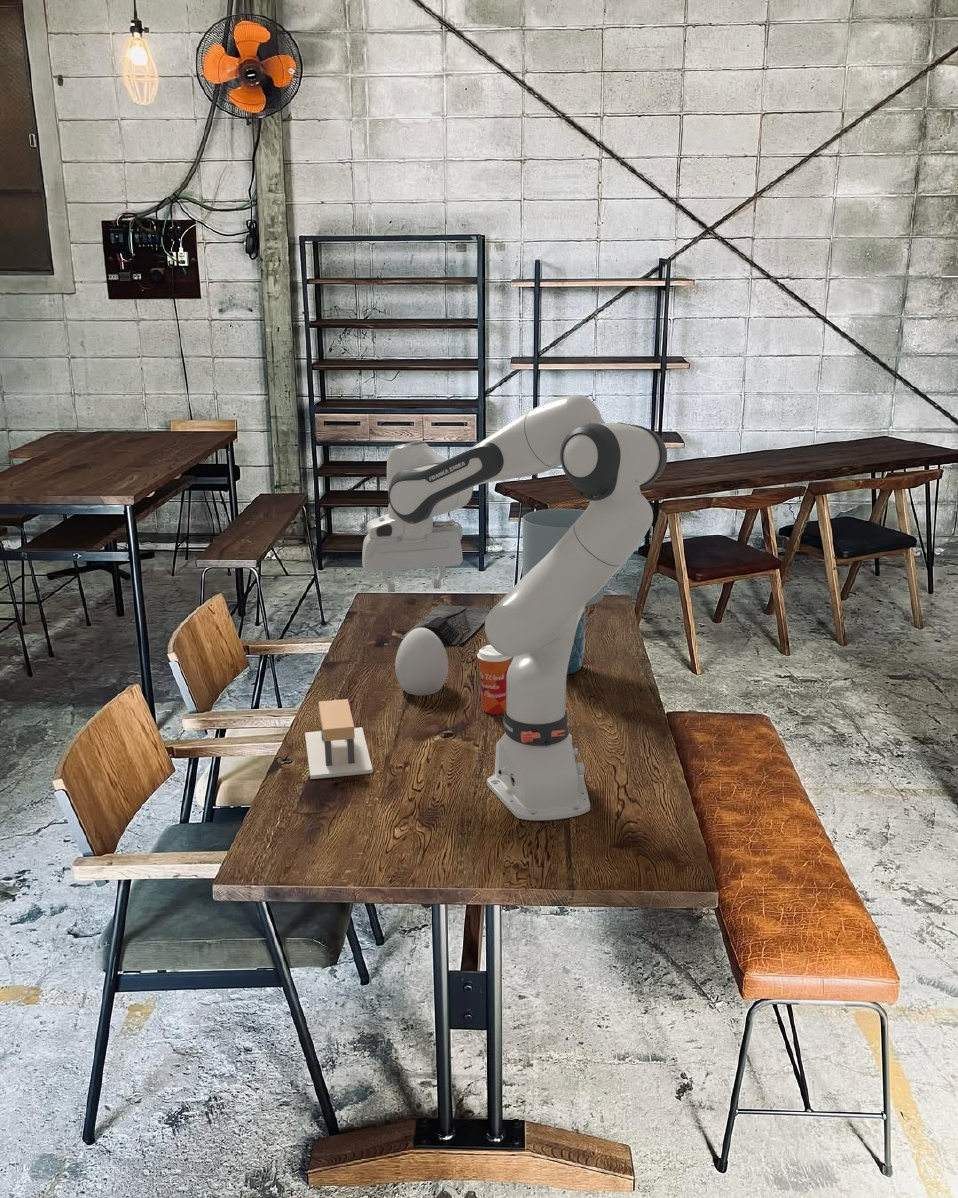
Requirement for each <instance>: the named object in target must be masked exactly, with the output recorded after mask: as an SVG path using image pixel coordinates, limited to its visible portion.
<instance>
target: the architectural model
mask: <svg viewBox="0 0 958 1198" xmlns="http://www.w3.org/2000/svg"><path fill="white" fill-rule="evenodd" d="M492 609H493V608H491V609H490V608H483V607H482V608H481V607H472V606H471V607H470V606H459V605H445V604H438V605H437V606H436V607H435V608H434V609H433V610H432V611H431V612H430V613H428V614H427V615H425V617H423V618H422V620H420V621H419V622H418V623H416V624H415V625H414V626H413V627H411V629H409V630H408V631H407V632H406V633H404V634H403V635H402V636H401V638H400V640H401V639H404V638H405V637H406V635H407V634H408V633H409V632H411V631H412V630H414V629H416V628H426V629H429V630H431V631H432V632H433V633H434V634H436V636H437V637H438V638H439V639H440V640H441V642H442V644H443V646H454V647H463V643H464V642H466V641H467V639H469V638H470V637H471V636H472V635H473V634H474V633H475V632H476V631H477V630H478V629H479V628H480V627H481V626H483V624H485V621H486V618H487V615H488V614H489V612H490V611H491V610H492ZM458 629H464V630H465V629H467V631H466V635H464V632H463V631H461V630H458ZM462 638H463V639H462Z"/></svg>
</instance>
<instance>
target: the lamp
mask: <svg viewBox="0 0 958 1198" xmlns="http://www.w3.org/2000/svg"><path fill="white" fill-rule="evenodd" d="M585 510H586V509H576V508H549V509H540V510H535V511H530V512H527V513H526V514H524V515H523V516H522V571H521V572H522V574H521V575H522V577H521V579H522V578H523V577H524V576H525V575H526V574H527V573H528V572H529V571H530V570H531V569H532V568H533V567H534V566H536V565H537V564H538V563H539V562H540V561H541V560H542V559H543V558H544V557H545V556H546V555H547V554H548V553H549V552H550V551H551V550H552V549H553V548H554V546H555V545H556V544H557V543H558V542H559V541H560V539H561V538H562V537H563V536H564V535H565V533H566V532H567V531H568V530H569V529H570V528H571V526H572V525H573V524H574V523H575V522H576V520H577V519H578V518H579V517H580V516H581V515H582V514H583V512H584V511H585ZM604 586H605V585H604ZM604 586H603V587H602V588H601V590H600V591H599V592H598V593H597V594H596V595H595V596H594V597H592V598H591V599H590V600H589V601H588V602H587V603H586V604H585V607H587V606H592V605H595V604H597V603H599V602H601V601H602V600H603V599H604V588H605V587H604ZM585 644H586V610H585V609H584V612H583V614H582V616H581V618H580V620H579V623H578V626H577V629H576V633H575V637H574V642H573V646H572V651H571V655H570V659H569V664H568V669H567V675H572V674H575V673H577V672H579V670H580V669H581V668H582V666H583V662H584V654H585Z"/></svg>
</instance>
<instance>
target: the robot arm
mask: <svg viewBox="0 0 958 1198" xmlns="http://www.w3.org/2000/svg"><path fill="white" fill-rule="evenodd" d="M667 451H668V450H667V447H666V444H665V442H664V440H663V438H661V436H659V435H658V434H657V433H656V432H655V431H653V430H652V429H649V428H647V427H644V426H643V425H638V424H631V423H624V422H606V421H604V419H603V417H602V415H601V412H600V410H599V408H598V406H597V405H596V404H595V403H594V402H593V401H592V400H591V399H589V397H587V396H585V395H582V394H571V395H567V396H564V397H560V398H559V397H558V398H556V399H553V400H551V401H547V402H545V403H543V404H541V405H539V406H536V407H534V408H532V409H531V410H528V411H526V412H524V413H522V414H521V415H520V416H518V417H516V418H515V419H513V420H511V421H510V422H509V423H507V424H506V425H504V426H503V427H501V428H500V429H498V430H496V431H495V432H494V433H492V434H491V435H489V436H488V437H486V438H484V439H483V440H481V441H480V442H478V443H477V444H475V445H473V446H472V447H470V448H469V449H467V450H465V451H463V452H461V453H459V454H457V455H455V456H453V457H451V458H445V457H443V456H441V455H439V454H438V453H436V452H435V451H433V449H432V448H431V447H430V445H429V444H428V443H427V442H425V441H413V442H407V443H402V444H398V445H397V444H396V445H394V446H393V447H392V448H390V450H389V452H388V454H387V460H386V488H387V494H388V495H387V496H388V502H389V503H388V506H387V507H388V508H387V509H388V511H387V512H388V513H386V514H384V515H382V516H379V517H376V518H374V519H371V520H369V521H368V522H367V523H366V530H367V533H368V534H367V535H366V536H364V539H363V541H362V542H363V544H362V553H361V554H362V556H361V561H362V563H361V565H362V568H363V569H364V571H365V572H367V573H368V574H371V573H380V576H381V578H382V579H383V581H384V582H385V584H386V591H387V593H395V592H396V589H395V587H396V584H395V582H394V581H390V580H389V579H388V578H387V577H389V576H390V575H389V572H396V571H411V570H420V569H432V568H436V569H437V570H438V573H437V575H436V577H434V578H431V579H432V581H431V582H432V584H431V585H432V588H433V589H441V588H442V583H441V582H442V581H441V580H442V579H443V577H444V576H445V574H446V573H447V568H446V567H457V566H460V565H461V564H462V563H463V561H464V560H463V559H464V557H463V549H462V544H461V543H462V542H461V540H462V538H463V527H462V525H461V523H459V522H457V521H455V520H454V519H449V520H435V521H434V517H438V516H441V515H443V514H448V513H450V512H453V511H457V510H459V509H461V508H463V507H466V505H468V504H469V503H470V501H471V499H472V497H473V493H474V487H477V486H479V485H483V484H489V483H492V482H499V481H506V480H513V479H519V478H524V477H525V478H526V477H530V476H533V475H538V474H541V473H542V474H543V473H545V472H549V471H550V470H551V471H552V470H554V469H556V468H558V467H560V466H561V468H562V470H563V472H564V474H565V476H566V478H567V479H568V480H569V482H570V483H571V484H572V485H573V486H574V487H575V490H576V492H577V494H578V496H579V497H581V498H582V499H584V500H586V501H589V504H588V506H587V507H586V508H585V509H584V510H585V511H584V512H583V514H582V515H581V516H580V517H579V518H578V519H577V520H576V522H575V523H574V524H573V525H572V526H571V528H570V529H569V530H568V531H567V532H566V533H565V535H564V536H563V537H562V538H561V539H560V541H559V542H558V543H557V544H556V545H555V546H554V548H553V549H552V550H551V551H550V552H549V553H548V554H547V555H546V556H545V557H544V558H543V559H542V560H541V561H540V562H539V563H538V564H537V565H536V566H534V567H533V568H532V569H531V570H530V571H529V572H528V573H527V574H526V575H525V576H524V577H523V578H522V577H521V579H520V580H519V581H518V582H517V583H516V584H515V585H514V586H513V587H512V588H511V589H510V590H509V591H508V592H507V593H506V594H505V595H504V596H503V597H502V598H501V600H499V602H497V604H495V605H494V607H493V608H491V609H492V610H491V611H490V612H489V614H488V615H487V618H486V621H485V622H484V632H485V635H486V636H485V637H486V639H487V641H488V643H489V645H491V646H492V647H493V648H494V649H495V650H496V651H497V652H499V653H501V654H502V655H505V656H509V657H512V659H511V663H510V666H509V668H508V671H507V676H506V710H505V712H504V713H503V714H504V715H503V718H502V719H503V720H502V721H503V722H502V723H503V730H504V733H503V734H502V736H501V737H500V739H499V740H497V742H496V743H495V744H496V745H495V746H496V747H495V760H494V761H495V762H494V763H495V764H494V774H493V775H491V776H489V777H488V778H487V779H486V786H487V787H488V789H489V790H491V791H492V793H493V794H494V795H495V796H496V797H497V798H498V799H499V800H500V801H501V802H502V803H503V804H504V806H505V807H506V808H507V809H508V810H509V811H510V812H511V814H513V815H514V816H515V817H516V819H521V820H523V821H524V820H526V821H554V820H563V819H569V818H574V817H578V816H581V815H583V814H586V813H588V812H589V811H591V803H590V799H589V798H590V797H589V794H588V789H587V786H586V782H585V781H586V779H585V777H584V775H585V769H586V767H585V763H584V762H582V761H581V762H576V756H578V755H579V749H578V748H576V747H574V746H573V736H572V734H570V731H569V729H570V728H569V725H570V724H569V718H568V711H567V709H566V700H567V699H566V698H567V697H566V695H567V693H566V692H567V675H568V674H567V669H568V664H569V659H570V655H571V651H572V646H573V642H574V637H575V633H576V629H577V626H578V623H579V620H580V618H581V616H582V614H583V612H584V610H585V609H586V606H585V604H586V603H587V602H588V601H589V600H590V599H591V598H592V597H594V596H595V595H596V594H597V593H598V592H599V591H600V590H601V588H602V587H603V586H606V585H607V583H608V582H609V581H610V580H611V579H612V577H614V575H615V574H616V573H618V571H619V570H620V569H621V567H623V566H624V565H625V563H626V562H627V561H628V560H629V559H630V558H631V556H632V555H633V553H634V552H635V551H636V550H637V548H638V547H639V546H640V544H641V543H642V541H643V539H644V537H646V535H647V532H648V531H649V530H650V528H651V526H652V524H653V521H654V513H653V508H652V506H651V504H650V503H649V501H648V499H647V498H646V497H645V496H644V495H643V494H642V492H641V489H640V488H642V487H645V486H647V485H650V484H652V483H654V482H655V481H657V479H658V478H659V477H661V475H662V474H663V472H664V471H665V468H666V465H667V462H668V452H667Z"/></svg>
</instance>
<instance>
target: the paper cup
mask: <svg viewBox="0 0 958 1198" xmlns="http://www.w3.org/2000/svg"><path fill="white" fill-rule="evenodd" d="M476 656H477V658H478V667H479V683H480V695H481V707H482V711H483V710H484V711H485V712H484V711H483V712H484V713H486V712H487V713H486V714H490V715H499V714H504V712H505V710H506V676H507V671H508V668H509V666H510V664H511V662H512V659H513V657H509V656H505V655H502V654H501V653H499V652H497V651H496V650H495V649H494V648H493V647H492V646H491V644H488V645H484V646H483V647H481V648H480V649H479V650H478V653H477V655H476Z"/></svg>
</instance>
